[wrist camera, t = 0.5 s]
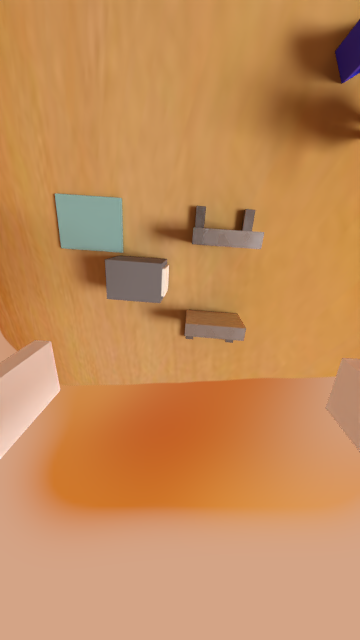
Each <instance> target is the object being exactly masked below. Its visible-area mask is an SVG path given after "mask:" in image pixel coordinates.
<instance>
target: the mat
mask: <svg viewBox="0 0 360 640" xmlns="http://www.w3.org/2000/svg"><path fill="white" fill-rule="evenodd" d="M55 201H56V209H57V217H58V226H59V234H60V242H61V248H66V249H80V250H93V251H107V252H120V253H123V225H122V198H113V197H98V196H83V195H68V194H55Z"/></svg>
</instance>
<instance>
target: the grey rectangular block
mask: <svg viewBox="0 0 360 640" xmlns="http://www.w3.org/2000/svg"><path fill="white" fill-rule="evenodd" d="M105 269H106V287H107V299H115V300H127V301H140V302H152V303H161V301H162V299H163V297H164V296H165V294H166V292H167V290H168V276H169V265H167V259H158V258H145V257H131V256H117V257H113V258H109V259H105Z"/></svg>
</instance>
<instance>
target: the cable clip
mask: <svg viewBox="0 0 360 640" xmlns="http://www.w3.org/2000/svg"><path fill="white" fill-rule="evenodd" d="M335 54H336V59H337V63H338V68H339V73H340V78H341V83H344V82H345V81H347V80H349V79H350V78H352V77H354V76H355V75H357V74H359V73H360V20H359V21H358V22H357V24H356V25H355V26H354V27H353V29H352V30H351V31H350V33H349V34H348V35H347V37H346V38H345V39H344V41H343V42H342V43H341V44H340V46H339V47H338V48H337V50H336V51H335Z"/></svg>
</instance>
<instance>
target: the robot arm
mask: <svg viewBox="0 0 360 640" xmlns="http://www.w3.org/2000/svg"><path fill="white" fill-rule="evenodd" d="M59 391H60V386H59V381H58V376H57V370H56V365H55V360H54V355H53V350H52V344H51V341H38V340H35V341H33V342H31V343H30V344H28V345H27V346H25V347H24V348H22V349H21V350H19V351H18V352H16V353H14V354H13V355H11V356H10V357H8V358H7V359H5V360H4V361H2V362H1V363H0V459H1V458H2V456H3V455H4V454H5V453H6V452H7V451H8V450H9V448H10V447H11V446H12V445H13V444H14V443H15V441H16V440H17V439H18V438H19V437H20V436H21V434H23V432H24V431H25V430H26V429H27V428H28V427H29V425H30V424H31V423H32V422H33V421H34V419H36V418H37V416H38V415H39V414H40V413H41V412H42V411H43V409H44V408H45V407H46V406H47V405H48V404H49V403H50V401H51V400H52V399H53V398H54V397H55V396H56V394H57V393H58V392H59ZM326 409H327V411H328V412H329V413H330V414H331V416H332V417H333V418H334V420H335V421H336V422H337V423H338V425H339V426H340V427H341V429H342V430H343V431H344V432H345V434H346V435H347V436H348V438H349V439H350V440H351V441H352V443H353V444H354V445H355V446H356V448H357V449H358V450H359V452H360V359H349V358H342V361H341V363H340V366H339V369H338V372H337V375H336V378H335V381H334V384H333V387H332V390H331V393H330V396H329V399H328V402H327V405H326Z"/></svg>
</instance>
